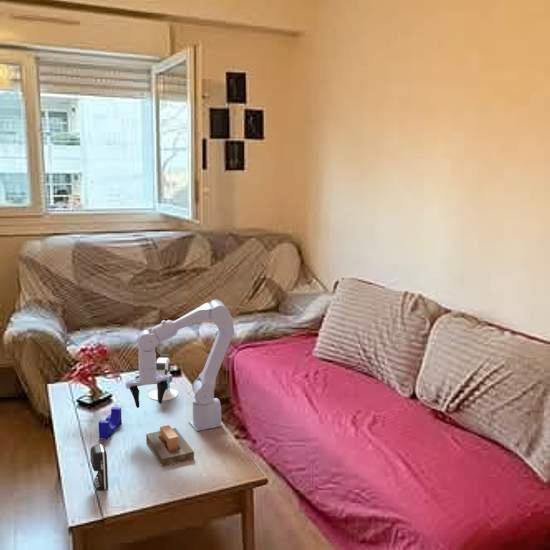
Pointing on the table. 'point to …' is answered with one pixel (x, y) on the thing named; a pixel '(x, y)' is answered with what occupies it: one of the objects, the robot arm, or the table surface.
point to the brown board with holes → (171, 456)
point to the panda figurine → (163, 369)
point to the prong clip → (169, 437)
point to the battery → (99, 466)
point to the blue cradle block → (110, 423)
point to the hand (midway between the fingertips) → (148, 404)
